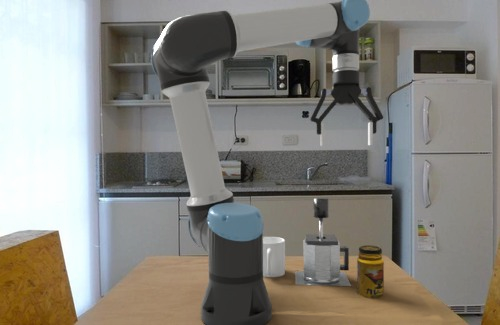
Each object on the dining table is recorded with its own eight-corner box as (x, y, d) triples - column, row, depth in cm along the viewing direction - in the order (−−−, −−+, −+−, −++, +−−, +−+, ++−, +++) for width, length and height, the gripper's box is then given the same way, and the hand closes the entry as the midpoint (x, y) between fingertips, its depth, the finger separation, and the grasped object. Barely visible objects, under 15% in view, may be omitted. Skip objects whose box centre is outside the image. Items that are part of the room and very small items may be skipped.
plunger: (308, 271, 97) (308, 199, 96) (307, 263, 104) (306, 196, 103) (336, 272, 96) (336, 200, 95) (333, 264, 103) (332, 196, 103)
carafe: (304, 283, 96) (303, 241, 95) (302, 271, 105) (302, 233, 105) (351, 284, 94) (350, 242, 94) (345, 272, 104) (345, 234, 104)
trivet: (295, 287, 95) (295, 284, 95) (295, 273, 106) (295, 271, 106) (351, 289, 94) (351, 285, 94) (344, 274, 105) (344, 272, 105)
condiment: (382, 305, 84) (381, 252, 83) (345, 298, 88) (344, 248, 88) (388, 294, 90) (387, 245, 90) (353, 288, 94) (353, 241, 94)
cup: (285, 270, 109) (284, 236, 109) (284, 285, 97) (284, 247, 97) (257, 270, 110) (256, 236, 109) (253, 284, 98) (253, 246, 98)
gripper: (302, 70, 103) (303, 145, 104) (394, 67, 101) (394, 144, 101) (301, 76, 111) (302, 146, 111) (387, 73, 108) (387, 145, 108)
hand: (346, 145), depth 106 cm, fingers open, 13 cm apart
